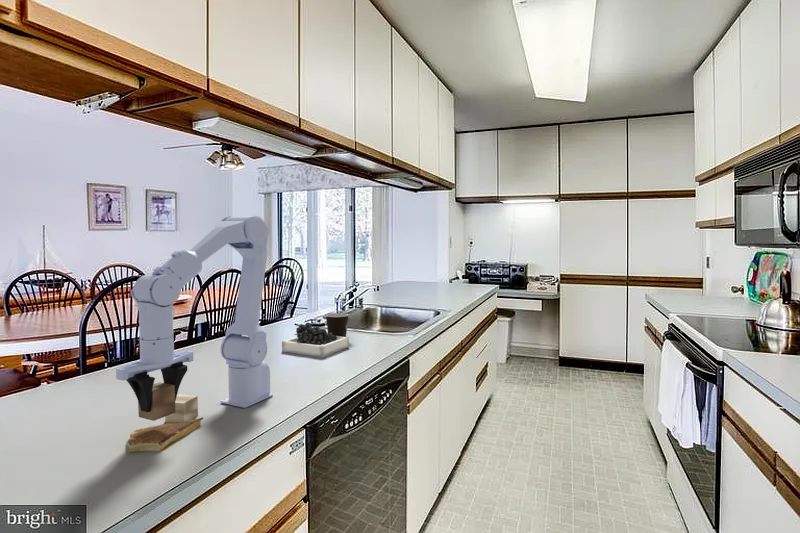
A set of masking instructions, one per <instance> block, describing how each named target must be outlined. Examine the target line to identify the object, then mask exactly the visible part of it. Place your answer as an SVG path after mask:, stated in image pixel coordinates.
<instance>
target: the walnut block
mask: <svg viewBox="0 0 800 533" xmlns="http://www.w3.org/2000/svg"><path fill="white" fill-rule="evenodd" d="M137 406H138V408H137V409H138V418H140V419H145V420H148V421H149V420H150V421H153V422H155V421H157V420H161V419H163V418H165V416H168V415H171V414H173V413H176V411H175V385H171V384H166V383H164V382H160V381H159V382H156V383H155V382H154V384H153V389H152V407H151V411H150V412H144V411H141V409H140V405H139V402H138V401H137Z"/></svg>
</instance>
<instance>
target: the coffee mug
mask: <svg viewBox="0 0 800 533" xmlns="http://www.w3.org/2000/svg"><path fill="white" fill-rule="evenodd" d="M325 320H326V321H325V322H326V327H327V328H326V329H327V330H326V331H327V333H332V335H333V336H341V337H347V333H348V332H347V331H348V330H347V329H348V321H349V314H348V313H341V312H339V313H338V312H337V313H336V312H335V313H327V314H325Z"/></svg>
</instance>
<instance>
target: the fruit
mask: <svg viewBox="0 0 800 533" xmlns="http://www.w3.org/2000/svg"><path fill="white" fill-rule="evenodd" d="M295 332H296V333H294V335H295V336H296V337H298V340H297V342H298V343H305V344H312V345H322V344H323V345H325V344H328V343H330V342H332V341H336V340H337V337H336V336H332V333H328V331H327V330H326V329H325V328H321V327H320V326H317V325H316V326H313V327H312V324H310V323H305V324H299V326H297V328H296V331H295Z"/></svg>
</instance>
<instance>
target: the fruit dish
mask: <svg viewBox="0 0 800 533" xmlns="http://www.w3.org/2000/svg"><path fill="white" fill-rule="evenodd" d="M332 336H333V335H332ZM336 337H337V340H336V341H332V342H330V343H328V344H325V345H323V344H322V345H312V344H305V343H298V342H297V340H298V337H297V336H296V337H293V338H288V339H285V340H282V341H281V352H282V353H289V354H294V355H295V354H296V355H301V356H302V355H303V356H307V357H308V356H309V357H315V358H325V357H328V356H330V355H332V354H333V355H334V353H337V352H339V351H343V350H345V349H348V348H349V346H350V345H349V343H350V342H349V337H348V336H346V337H341V336H336Z"/></svg>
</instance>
